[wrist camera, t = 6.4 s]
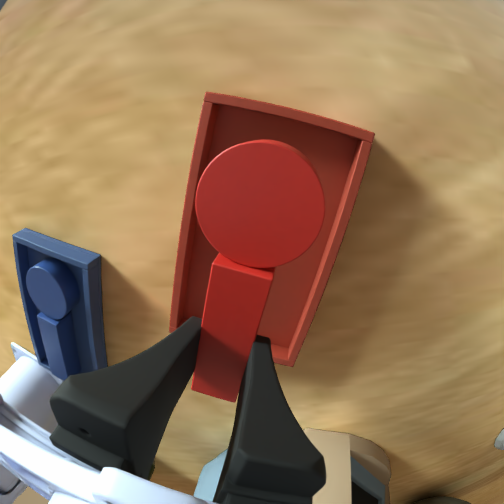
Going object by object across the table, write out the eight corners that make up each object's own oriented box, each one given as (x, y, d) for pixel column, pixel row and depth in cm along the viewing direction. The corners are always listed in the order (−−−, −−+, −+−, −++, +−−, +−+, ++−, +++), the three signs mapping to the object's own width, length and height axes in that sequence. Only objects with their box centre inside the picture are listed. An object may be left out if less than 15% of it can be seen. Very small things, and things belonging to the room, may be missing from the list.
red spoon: (263, 378, 16) (257, 409, 14) (183, 354, 16) (169, 383, 14) (336, 156, 11) (343, 163, 9) (221, 128, 11) (203, 128, 9)
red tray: (294, 351, 20) (292, 367, 18) (177, 318, 20) (168, 332, 19) (368, 132, 14) (375, 133, 13) (214, 94, 14) (205, 91, 13)
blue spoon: (91, 374, 24) (79, 389, 22) (55, 355, 24) (43, 369, 22) (78, 266, 20) (59, 280, 18) (37, 250, 20) (18, 261, 18)
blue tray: (110, 387, 25) (103, 398, 23) (47, 355, 25) (38, 364, 24) (101, 254, 19) (87, 264, 18) (25, 227, 20) (12, 234, 18)
